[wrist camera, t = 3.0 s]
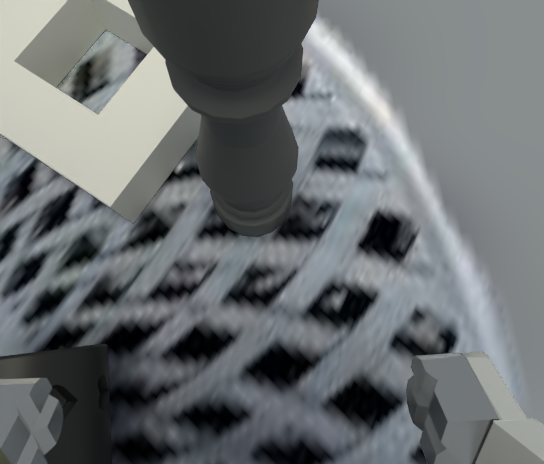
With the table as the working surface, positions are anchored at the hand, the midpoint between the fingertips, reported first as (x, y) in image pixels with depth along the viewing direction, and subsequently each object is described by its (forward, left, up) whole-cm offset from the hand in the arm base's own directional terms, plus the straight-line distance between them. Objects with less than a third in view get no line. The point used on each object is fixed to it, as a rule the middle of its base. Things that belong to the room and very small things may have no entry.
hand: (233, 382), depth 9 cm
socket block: (-23, +11, -23) cm, 34 cm away
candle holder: (-7, +9, -23) cm, 26 cm away
